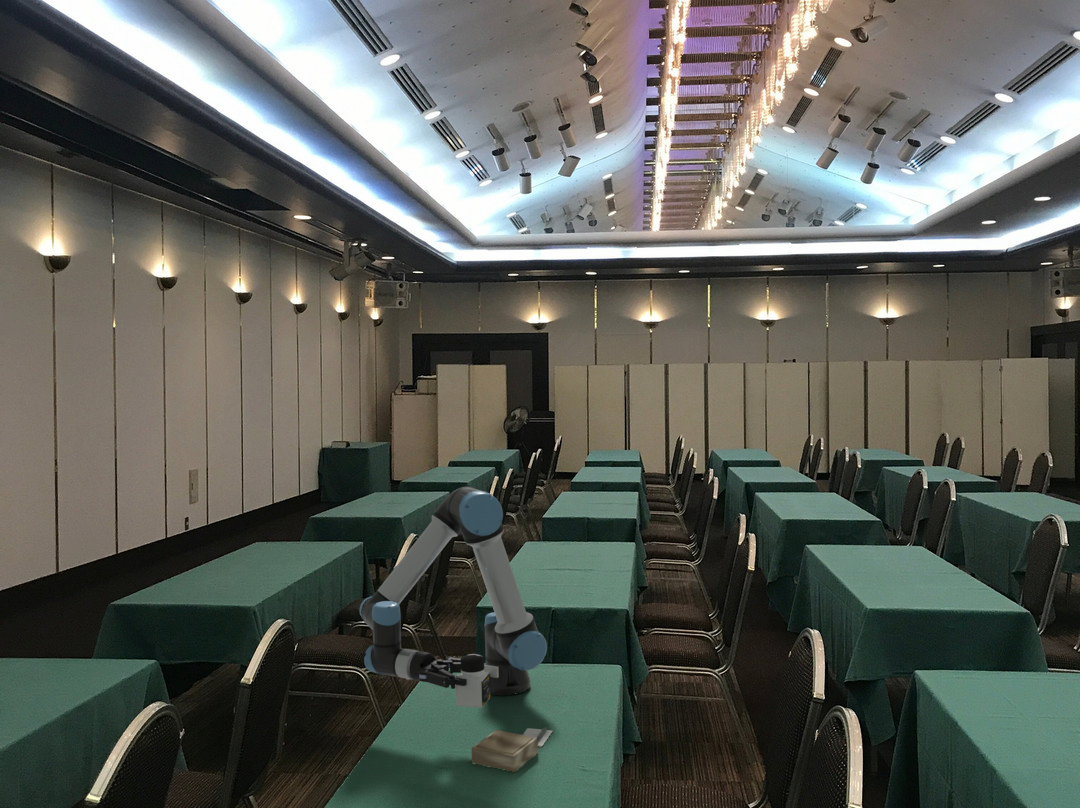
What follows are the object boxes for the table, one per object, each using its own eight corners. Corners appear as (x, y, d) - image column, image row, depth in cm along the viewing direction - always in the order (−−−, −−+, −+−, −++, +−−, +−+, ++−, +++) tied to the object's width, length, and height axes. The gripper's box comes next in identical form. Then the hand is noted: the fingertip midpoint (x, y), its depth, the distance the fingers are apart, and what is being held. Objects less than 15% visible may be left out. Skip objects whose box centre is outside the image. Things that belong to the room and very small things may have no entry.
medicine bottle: (482, 708, 231) (481, 661, 231) (455, 706, 233) (454, 659, 232) (490, 698, 238) (489, 652, 238) (464, 696, 240) (463, 651, 239)
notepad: (527, 731, 244) (527, 724, 244) (552, 734, 243) (552, 727, 242) (516, 746, 235) (516, 739, 235) (542, 749, 233) (542, 742, 233)
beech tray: (496, 745, 235) (496, 729, 235) (537, 753, 229) (537, 736, 229) (471, 763, 224) (471, 746, 224) (514, 772, 219) (514, 755, 218)
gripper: (439, 667, 253) (509, 679, 242) (392, 692, 235) (465, 706, 224) (439, 640, 253) (509, 651, 242) (391, 663, 234) (465, 676, 223)
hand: (488, 677), depth 233 cm, fingers closed on medicine bottle, 8 cm apart
